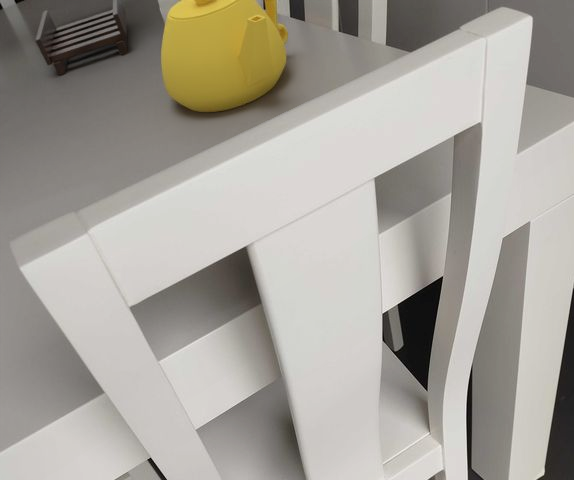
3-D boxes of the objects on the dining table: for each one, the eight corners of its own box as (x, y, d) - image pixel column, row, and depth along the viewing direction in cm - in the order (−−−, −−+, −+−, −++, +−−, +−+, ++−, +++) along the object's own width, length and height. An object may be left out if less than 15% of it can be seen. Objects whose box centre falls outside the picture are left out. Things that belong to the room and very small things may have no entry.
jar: (172, 42, 98) (143, -40, 89) (218, 27, 98) (194, -57, 89) (176, 60, 92) (146, -26, 83) (226, 44, 92) (201, -45, 83)
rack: (53, 77, 100) (35, 40, 95) (59, 45, 111) (43, 11, 107) (132, 51, 99) (117, 13, 95) (130, 22, 111) (116, -13, 107)
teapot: (152, 100, 83) (113, 2, 74) (258, 44, 88) (234, -54, 79) (227, 137, 70) (190, 24, 61) (345, 69, 75) (328, -44, 66)
